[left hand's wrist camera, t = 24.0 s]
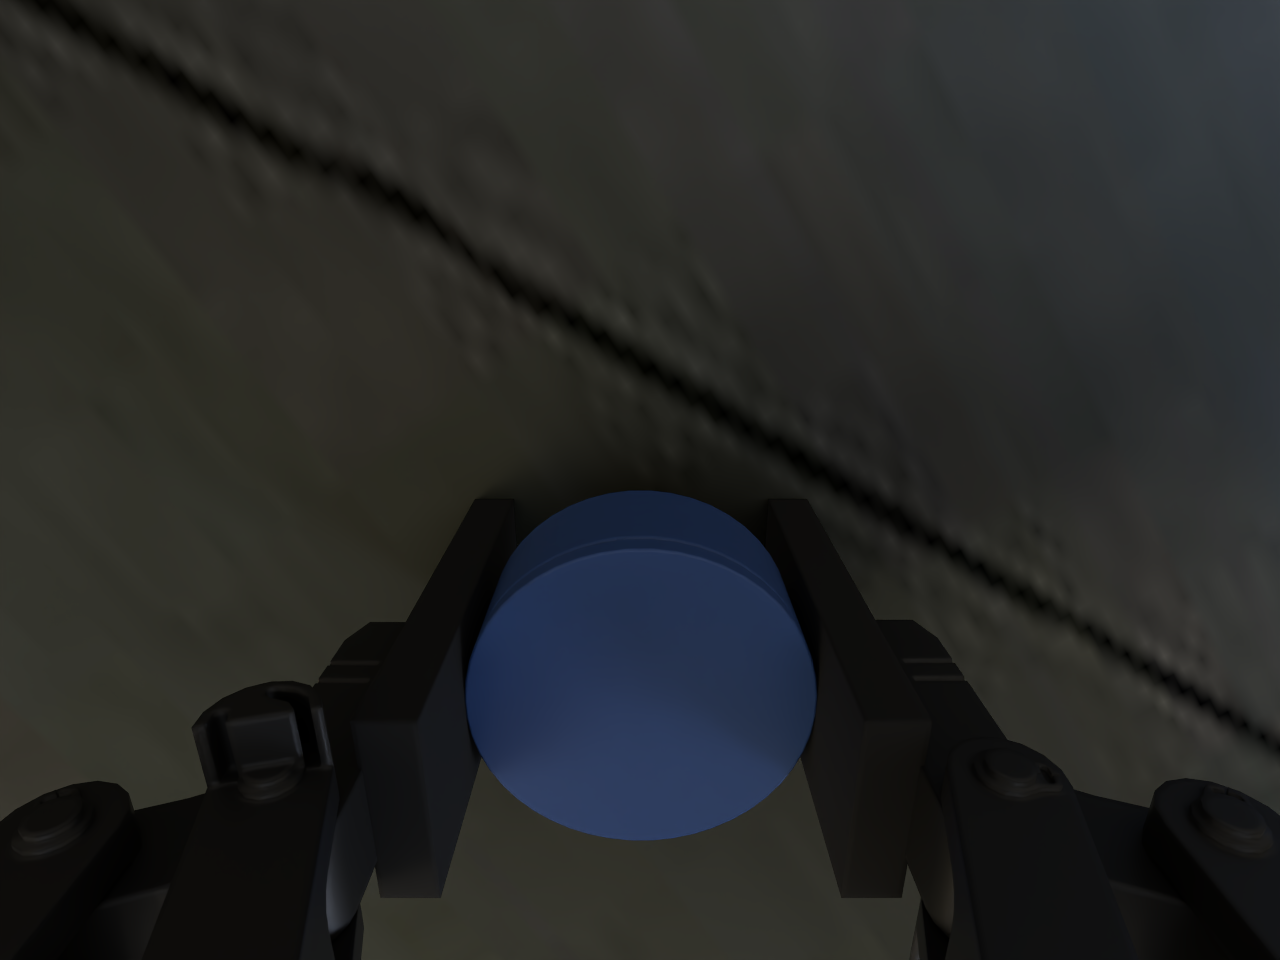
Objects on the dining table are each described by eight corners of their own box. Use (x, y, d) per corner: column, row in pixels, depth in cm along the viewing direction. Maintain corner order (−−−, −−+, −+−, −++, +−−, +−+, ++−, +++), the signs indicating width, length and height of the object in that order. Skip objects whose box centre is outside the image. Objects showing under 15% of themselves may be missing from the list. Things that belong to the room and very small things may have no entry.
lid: (594, 428, 11) (584, 480, 9) (849, 588, 12) (891, 665, 10) (440, 661, 13) (401, 749, 11) (678, 786, 14) (685, 887, 12)
